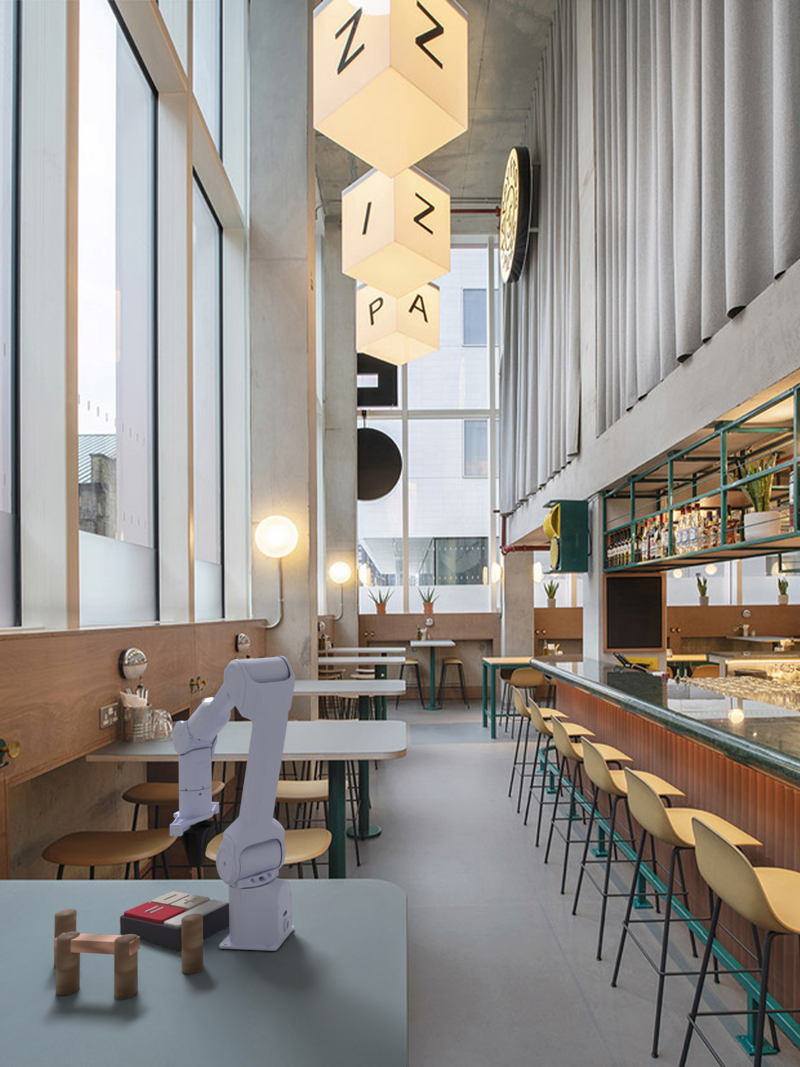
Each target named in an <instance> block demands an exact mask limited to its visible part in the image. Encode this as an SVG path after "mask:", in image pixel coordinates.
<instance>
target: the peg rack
mask: <svg viewBox="0 0 800 1067" xmlns="http://www.w3.org/2000/svg"><path fill="white" fill-rule="evenodd" d="M77 916H78V914H77V909H75V908H69V909H63V910H60V911H57V912H56V913H55V914H54V933H53V934H54V937H53V939H54V940H53V959H54V960H53V966H54V967H55V995H56V996H61V997H64V996H68V995H72V994H74V993H76V992H77V991H79V990H80V985H81V982H80V981H81V953H82V954H97V955H98V954H99V955H100V954H101V955H113V957H114V958H113V960H114V963H113V964H114V965H113V978H114V979H113V992H114V993H113V998H114V999H115V1000H116V999H117V1000H127V999H130V998H132V997H134V996H135V995H137V993H138V992H139V987H138V986H139V983H138V982H139V980H138V978H139V975H138V974H139V972H138V969H139V968H138V967H139V966H138V965H139V963H138V961H139V958H138V957H139V954H138V953H139V952H138V951H139V950H140V949H141V940H140V936H137V935H135V934H127V935H125V934H122V935H120V934H99V933H81V932H79V931H77ZM181 924H182V951H181V972H182V973H183V974H184V975H193V974H194V975H195V974H197V973H199V972H201V971H203V969H204V940H203V915H202V914H189V915H186V916H184V917H183V918H182V919H181Z"/></svg>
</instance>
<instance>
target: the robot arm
mask: <svg viewBox="0 0 800 1067" xmlns="http://www.w3.org/2000/svg"><path fill="white" fill-rule="evenodd" d="M295 683H296V674H295V671H294V669H293V667H292V664H291V662H290V660H289V659H288V658H287V657H286V656H284V655H277V656H274V657H273V656H271V657H261V658H260V657H259V658H258V657H257V658H250V659H238V658H235V659H232V660H230V662H228V664H227V665H226V667H225V668H224V670H223V683H222V685H221V686H220V688H219V689H218V691H217V692H216V694H215V696H213V697H212V696H211V697H204V698H203V699H202V700H201V704H199V706H198V707H197V708H196V710H195V711H194V712H193V713H192V714H191V715H190V717H189V718H188V719H187V720H178V721H176V723H175V725H174V726H173V730H172V745H173V748H174V751H175V752H176V753H177V754H178V811H176V812H174V813H173V818H174V820H173V821H172V823H170V824H169V836H170V837H178V838H179V840H180V842H181V844H182V847H183V849H184V851H185V855H186V860H187V863H188V866H189V868H200V867H203V865H204V863H205V858H206V853H207V849H208V844H209V842H210V837H211V835H212V832H213V831H214V828H215V827H216V821H215V820H208V819H211V818H212V817H213V816H214V815H217V814H219V813H220V802H219V801H213V794H212V792H213V787H212V784H213V783H212V782H213V781H212V779H213V777H212V774H213V773H212V760H213V759H214V758H215V749H216V745H217V742H218V734H219V733H220V732H221V731H222V729H223V728H224V727H225V726H226V725H227V724H228V723H229V721H230V719H231V717H232V716H231V713H232V712H231V711H232V710H233V709H234V707H235V708H236V709H237V711H238V712H239V715H241V717H242V718H245V719H248V720H250V722H251V724H252V726H251V734H250V740H249V745H248V746H249V747H248V754H247V760H246V768H245V774H244V782H243V788H242V794H241V802H240V808H239V814H238V817H237V818H236V819H234V821H233V822H232V823H231V824H230V825H229V826H228V827H227V828H226V829H225V830H224V831H223V834H222V840H221V843H220V844H219V845H218V849H217V852H216V856H215V866H216V871H217V873H218V876H219V878H220V879H221V881H223V882H224V883H225V884H226V885H228V903H229V927H228V929H229V934H228V935H227V936H226V937H225V938H224V939H223V940H222V941H221V942H220V943H219V944H218V948H220V949H225V950H251V951H270V952H271V951H272V952H273V951H274V952H275V951H278V949H280V947H281V945H282V944H283V943H284V942H285V940H286V939H287V938H288V937H289V936H290V934H291V933H292V932H293V930H295V926H294V925H293V909H292V908H293V903H292V902H293V901H292V887H291V886H292V885H291V883H290V882H289V880H286V879H281V878H278V876H279V875H280V874H279V870H280V869H281V868H282V867H283V866H284V863H285V860H286V855H287V854H286V852H287V851H286V850H287V849H286V844H285V836H286V831H285V828H284V826H283V825H282V824H281V823H280V822H279V821H278V820H277V819H276V818H274V812H275V807H276V799H277V793H278V786H279V779H280V772H281V765H282V760H283V754H284V746H285V741H286V740H285V739H286V735H287V734H286V733H287V727H288V721H289V712H290V710H291V708H292V704H293V696H294V690H295Z"/></svg>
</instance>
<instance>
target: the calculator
mask: <svg viewBox="0 0 800 1067" xmlns="http://www.w3.org/2000/svg"><path fill="white" fill-rule="evenodd" d="M210 898H211V897H208V896H203V895H198V894H197V895H196V894H189V893H185V892H179V891H173V890H172V891H170V892H167V893H165V894H163V895H160V896H158V897H156V898H153V899H151V900H150V902H149V901H147V902H144V903H142V904H139V905H137V906H134V907H132V908H129V909H128V910H125V911H124V912H123V914H122V915H120V916H119V926H120V928H119V930H120V932H119V933H120V934H122V935H127V934H135V935H137V936H140V941H144V942H147V943H152V944H156V945H159V946H160V947H161V948H164V949H167V950H170V951H173V952H176V953H180V952H181V953H182V924H181V919H182V918H183V917H184V916H186V915H189V914H202V915H203V941H204V940H206V939H208V938H210V937H212V936H213V935H215V934H217V933H219V932H221V931H223V930H225V929H227V928H229V902H227V901H225V900H224V901H223V900H220V899H219V900H217V899H210Z"/></svg>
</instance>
